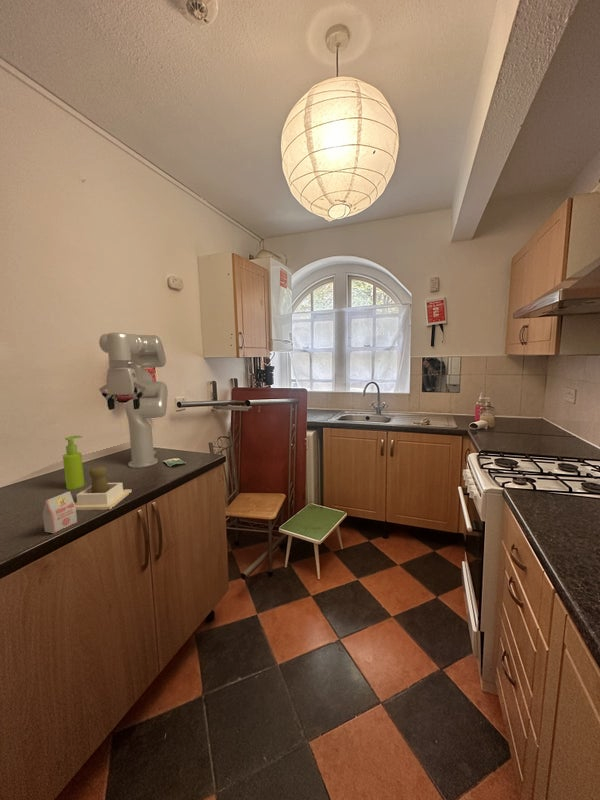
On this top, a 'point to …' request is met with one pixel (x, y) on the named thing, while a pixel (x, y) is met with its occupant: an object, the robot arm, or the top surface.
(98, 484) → the cork
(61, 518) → the white carton
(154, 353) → the robot arm
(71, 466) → the soap dispenser
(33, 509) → the top surface
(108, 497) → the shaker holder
